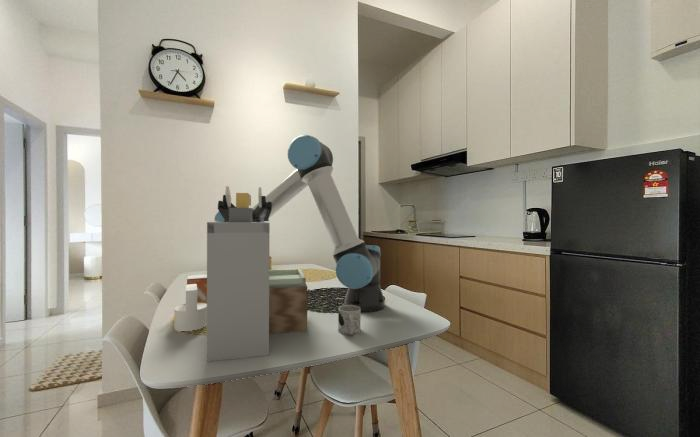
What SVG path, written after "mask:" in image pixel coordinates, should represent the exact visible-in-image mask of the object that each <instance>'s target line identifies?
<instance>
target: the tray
mask: <svg viewBox="0 0 700 437" xmlns="http://www.w3.org/2000/svg"><path fill="white" fill-rule="evenodd" d="M306 282H307V281H306V276H305V274H304V273H303V271H302V269H301V268H289V269H288V268H287V269H285V268H284V269H282V268H281V269H269V288H285V287H304V286H306V285H307V283H306Z"/></svg>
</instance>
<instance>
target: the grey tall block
mask: <svg viewBox="0 0 700 437" xmlns="http://www.w3.org/2000/svg"><path fill="white" fill-rule="evenodd" d="M270 225H271V224H270V220H269V221H264V222H222V221H215V220H214V221H208V222H207V221H206V274H207V326H206V362H208V363H209V362H214V361H215V362H216V361H225V360H235V359H246V358H257V357H264V356H269V354H270V334H269V270H270V227H271V226H270Z"/></svg>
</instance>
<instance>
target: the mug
mask: <svg viewBox="0 0 700 437" xmlns="http://www.w3.org/2000/svg"><path fill="white" fill-rule="evenodd" d="M337 312H338V315H337V316H338V318H337V320H338V324H337V325H338V327H337V329H338V330H337V331H338V333H340V334H343V335H356V334H359V333H360V332H361V318H362V317H361V314H362V313H361V312H362V311H361V308H360V307H359V306H355V305H345V304H344V305H340V306H339V307H338V311H337Z"/></svg>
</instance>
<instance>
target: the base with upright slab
mask: <svg viewBox="0 0 700 437" xmlns="http://www.w3.org/2000/svg"><path fill="white" fill-rule="evenodd" d="M173 312H174V316H173V317H174V318H173V320H174V322H173V325H174V328H173V330H174V331H175V332H179V333H181V331H190V332H193V331H192V330H196V331H198V330H197V329H199V330H202V329H204V328H206V327H207V304H206V303H197V284H189V285H187V284H185V303H184V304H180V305H177V306H175V308H174V311H173ZM205 326H206V327H205ZM203 327H204V328H203ZM201 328H202V329H201Z"/></svg>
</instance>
